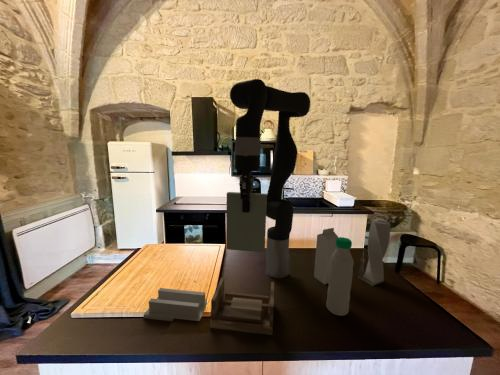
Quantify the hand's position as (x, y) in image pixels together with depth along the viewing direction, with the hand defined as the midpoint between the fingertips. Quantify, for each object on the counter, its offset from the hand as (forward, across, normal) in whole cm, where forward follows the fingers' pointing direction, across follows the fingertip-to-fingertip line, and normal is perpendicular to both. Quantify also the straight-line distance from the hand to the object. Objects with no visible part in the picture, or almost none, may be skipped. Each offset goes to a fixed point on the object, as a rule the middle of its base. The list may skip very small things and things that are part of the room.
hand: (246, 210), depth 67 cm
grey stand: (+34, +3, -22) cm, 40 cm away
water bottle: (+34, -5, +31) cm, 46 cm away
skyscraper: (+34, -25, +50) cm, 66 cm away
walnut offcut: (+33, +6, 0) cm, 33 cm away
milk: (+34, -23, +30) cm, 51 cm away
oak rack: (+34, +3, 0) cm, 34 cm away
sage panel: (+13, 0, 0) cm, 13 cm away
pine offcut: (+30, +6, +1) cm, 31 cm away
